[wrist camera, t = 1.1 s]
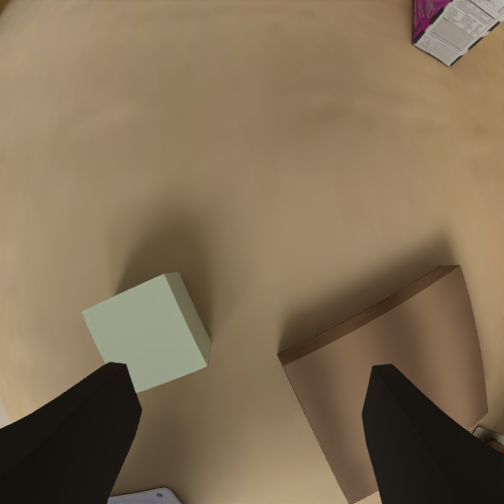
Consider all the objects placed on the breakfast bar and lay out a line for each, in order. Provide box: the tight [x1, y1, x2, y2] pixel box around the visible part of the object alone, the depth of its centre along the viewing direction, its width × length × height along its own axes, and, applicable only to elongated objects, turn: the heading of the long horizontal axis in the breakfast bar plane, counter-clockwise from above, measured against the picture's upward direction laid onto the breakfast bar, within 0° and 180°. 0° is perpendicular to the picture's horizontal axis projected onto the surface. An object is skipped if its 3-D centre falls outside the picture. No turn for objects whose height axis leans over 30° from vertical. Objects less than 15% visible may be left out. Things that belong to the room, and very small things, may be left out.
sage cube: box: [81, 272, 212, 393], centre depth 17 cm, size 5×5×5 cm
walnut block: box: [277, 265, 488, 504], centre depth 20 cm, size 14×14×3 cm
